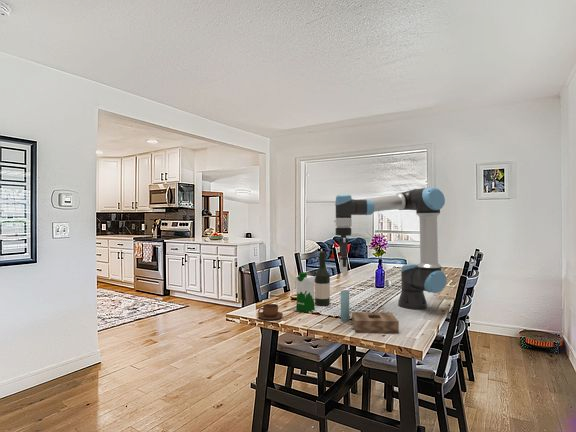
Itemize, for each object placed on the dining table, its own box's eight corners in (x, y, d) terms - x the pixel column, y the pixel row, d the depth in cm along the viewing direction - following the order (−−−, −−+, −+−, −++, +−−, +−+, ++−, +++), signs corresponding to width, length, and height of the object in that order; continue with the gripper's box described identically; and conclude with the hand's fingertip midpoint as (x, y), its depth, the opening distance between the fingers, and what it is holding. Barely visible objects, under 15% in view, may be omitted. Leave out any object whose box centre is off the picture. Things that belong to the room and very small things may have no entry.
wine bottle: (329, 307, 202) (329, 252, 202) (313, 306, 203) (313, 251, 203) (330, 303, 210) (330, 250, 210) (315, 302, 211) (315, 250, 212)
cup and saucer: (266, 323, 171) (266, 309, 172) (253, 317, 181) (253, 304, 181) (287, 318, 179) (287, 306, 179) (273, 313, 188) (273, 301, 188)
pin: (348, 319, 177) (348, 290, 177) (349, 321, 173) (349, 291, 173) (340, 319, 177) (340, 290, 177) (341, 321, 173) (340, 291, 173)
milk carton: (293, 310, 194) (293, 272, 194) (304, 307, 201) (304, 270, 201) (306, 313, 188) (306, 274, 188) (317, 310, 195) (317, 272, 195)
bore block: (391, 323, 169) (391, 312, 170) (398, 333, 156) (398, 321, 156) (352, 323, 171) (352, 312, 171) (355, 332, 157) (355, 320, 157)
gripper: (334, 226, 189) (334, 268, 189) (336, 227, 164) (336, 275, 164) (349, 226, 188) (349, 268, 188) (353, 227, 163) (353, 275, 163)
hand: (343, 271), depth 176 cm, fingers open, 13 cm apart
